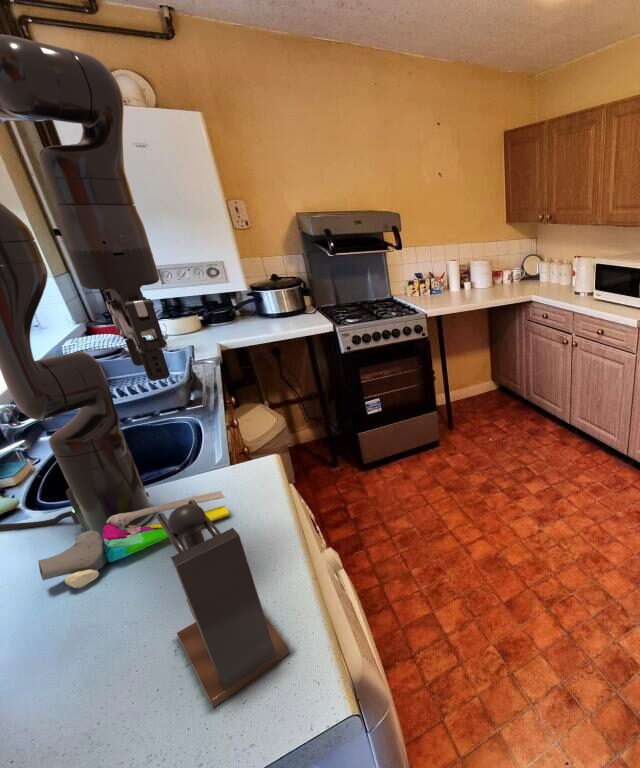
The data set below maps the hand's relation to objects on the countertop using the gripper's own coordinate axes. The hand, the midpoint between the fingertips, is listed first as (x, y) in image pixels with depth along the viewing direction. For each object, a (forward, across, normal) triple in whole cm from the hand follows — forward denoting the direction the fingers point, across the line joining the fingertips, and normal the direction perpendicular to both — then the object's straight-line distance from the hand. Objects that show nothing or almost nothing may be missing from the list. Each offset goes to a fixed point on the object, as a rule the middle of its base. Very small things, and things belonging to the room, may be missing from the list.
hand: (151, 371), depth 59 cm
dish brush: (+30, +16, -3) cm, 34 cm away
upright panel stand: (+34, +16, -3) cm, 38 cm away
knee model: (+35, -15, -6) cm, 39 cm away
